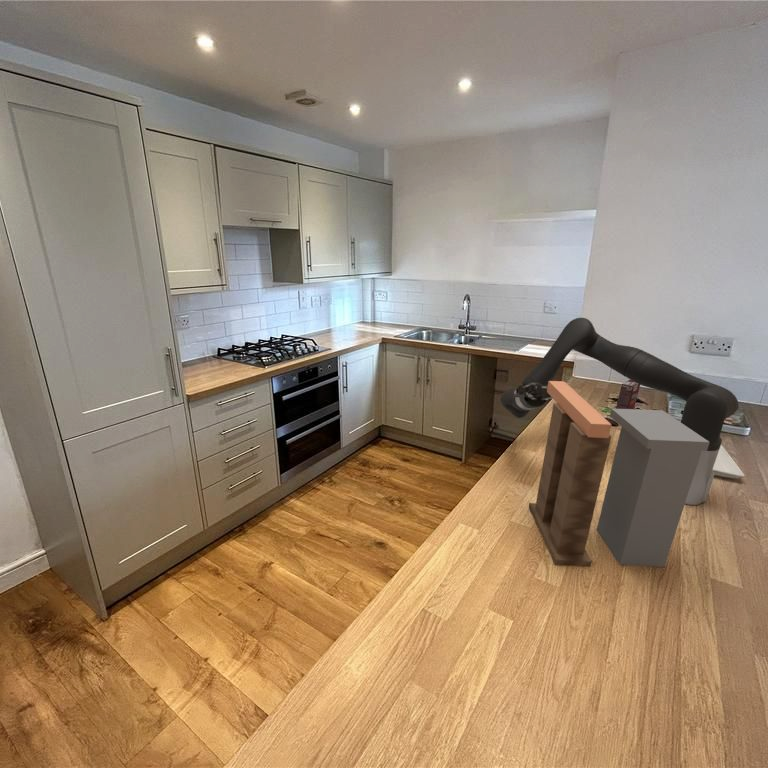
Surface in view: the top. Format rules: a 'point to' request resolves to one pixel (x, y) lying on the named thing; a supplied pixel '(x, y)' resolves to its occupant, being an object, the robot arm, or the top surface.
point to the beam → (579, 410)
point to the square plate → (726, 465)
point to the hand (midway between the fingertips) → (550, 388)
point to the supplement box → (628, 395)
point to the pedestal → (648, 485)
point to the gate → (568, 489)
